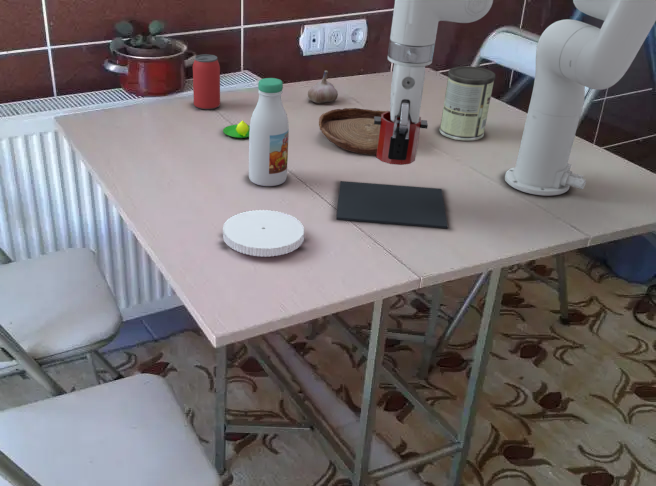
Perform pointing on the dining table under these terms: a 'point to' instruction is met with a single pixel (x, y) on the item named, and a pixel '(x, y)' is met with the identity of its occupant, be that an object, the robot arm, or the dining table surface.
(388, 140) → the pot
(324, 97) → the garlic bulb
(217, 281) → the dining table surface
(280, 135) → the milk bottle
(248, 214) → the plastic lid
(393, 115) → the robot arm
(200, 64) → the beer can
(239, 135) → the lemon on green saucer
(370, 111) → the basket
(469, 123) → the coffee can
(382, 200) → the mat
